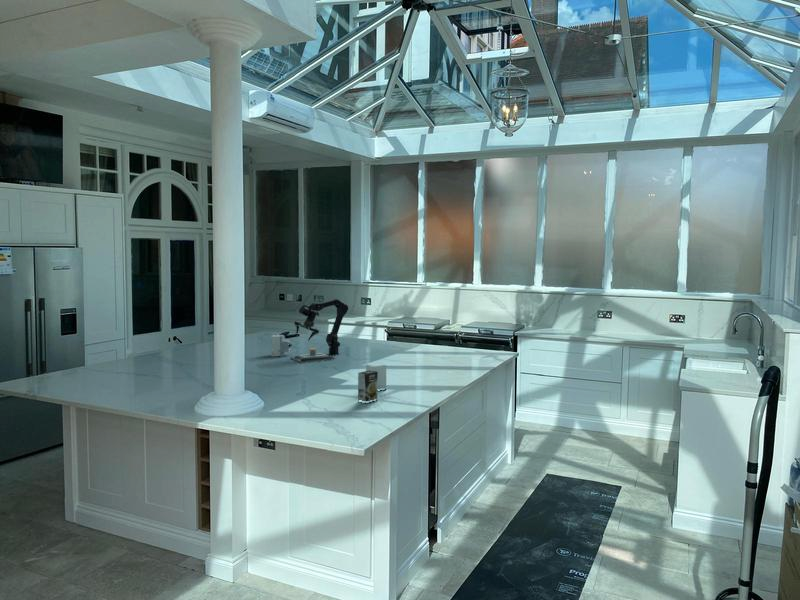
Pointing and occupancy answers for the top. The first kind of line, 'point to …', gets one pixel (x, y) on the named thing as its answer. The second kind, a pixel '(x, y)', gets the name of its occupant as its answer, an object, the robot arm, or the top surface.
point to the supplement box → (381, 373)
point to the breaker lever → (312, 351)
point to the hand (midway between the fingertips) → (302, 338)
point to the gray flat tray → (313, 358)
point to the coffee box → (367, 385)
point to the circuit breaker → (279, 345)
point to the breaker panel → (311, 357)
